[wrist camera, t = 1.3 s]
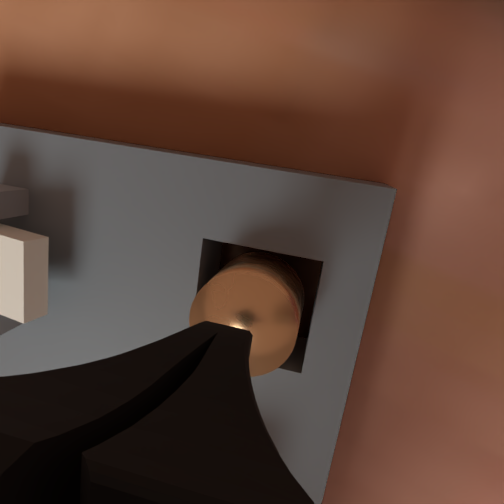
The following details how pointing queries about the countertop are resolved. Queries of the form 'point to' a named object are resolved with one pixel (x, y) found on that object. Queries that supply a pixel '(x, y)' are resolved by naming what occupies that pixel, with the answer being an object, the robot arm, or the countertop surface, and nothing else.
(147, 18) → the countertop surface
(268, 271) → the push button
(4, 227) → the rocker switch
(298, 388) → the panel
